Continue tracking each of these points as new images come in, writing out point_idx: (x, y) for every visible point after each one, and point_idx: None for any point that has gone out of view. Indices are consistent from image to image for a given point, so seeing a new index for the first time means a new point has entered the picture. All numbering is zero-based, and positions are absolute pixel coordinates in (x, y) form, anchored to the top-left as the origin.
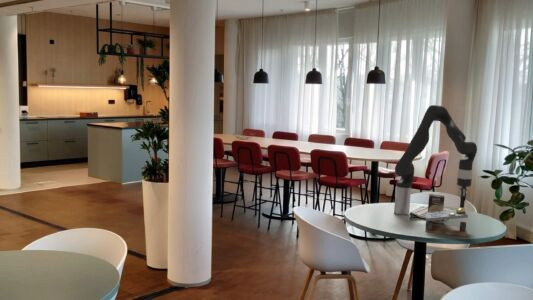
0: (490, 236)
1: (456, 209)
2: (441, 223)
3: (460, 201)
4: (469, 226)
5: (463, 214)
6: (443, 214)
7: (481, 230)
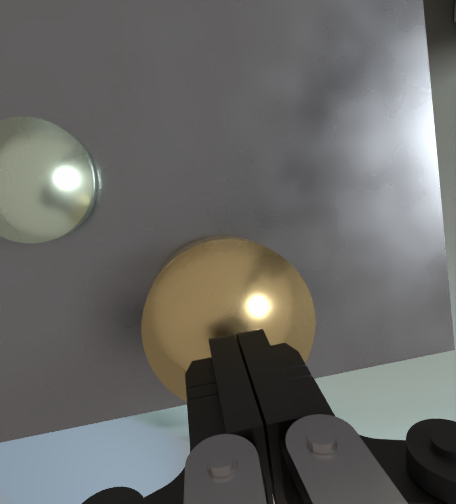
0: None
1: (188, 257)
2: (454, 19)
3: (226, 429)
4: (451, 277)
5: (44, 373)
6: (119, 16)
7: (361, 371)
